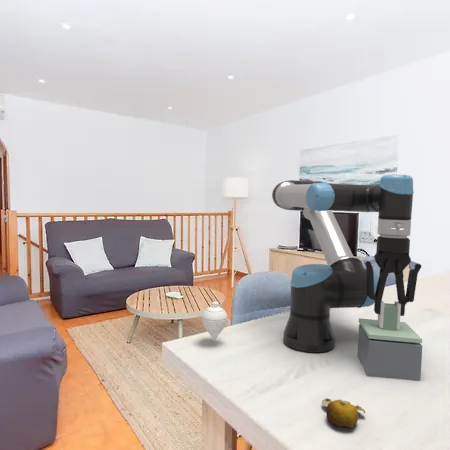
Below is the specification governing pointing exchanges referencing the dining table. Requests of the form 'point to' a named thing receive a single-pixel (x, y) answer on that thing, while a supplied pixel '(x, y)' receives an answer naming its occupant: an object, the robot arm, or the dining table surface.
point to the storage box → (389, 358)
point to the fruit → (341, 412)
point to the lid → (389, 328)
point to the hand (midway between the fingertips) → (388, 326)
